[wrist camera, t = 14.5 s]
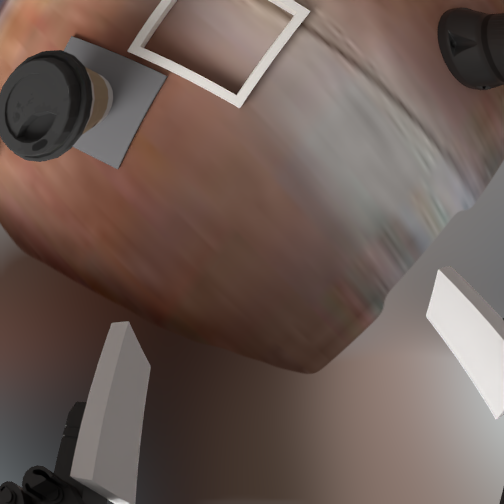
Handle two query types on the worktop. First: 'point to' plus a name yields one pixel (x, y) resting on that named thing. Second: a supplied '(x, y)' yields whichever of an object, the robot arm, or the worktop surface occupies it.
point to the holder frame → (137, 48)
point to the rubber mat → (116, 100)
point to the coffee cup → (51, 105)
